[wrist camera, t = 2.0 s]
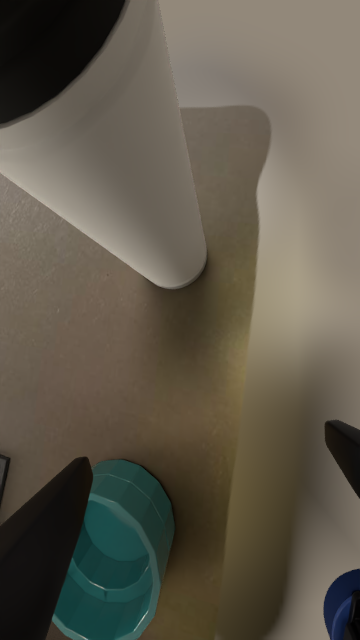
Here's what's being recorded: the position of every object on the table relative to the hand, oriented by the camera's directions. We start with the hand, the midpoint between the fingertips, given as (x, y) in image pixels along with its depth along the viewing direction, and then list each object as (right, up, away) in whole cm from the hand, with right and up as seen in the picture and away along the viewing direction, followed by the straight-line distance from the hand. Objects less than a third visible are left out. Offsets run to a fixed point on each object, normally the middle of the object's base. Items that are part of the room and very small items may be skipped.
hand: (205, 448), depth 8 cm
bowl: (-6, -13, +12) cm, 19 cm away
